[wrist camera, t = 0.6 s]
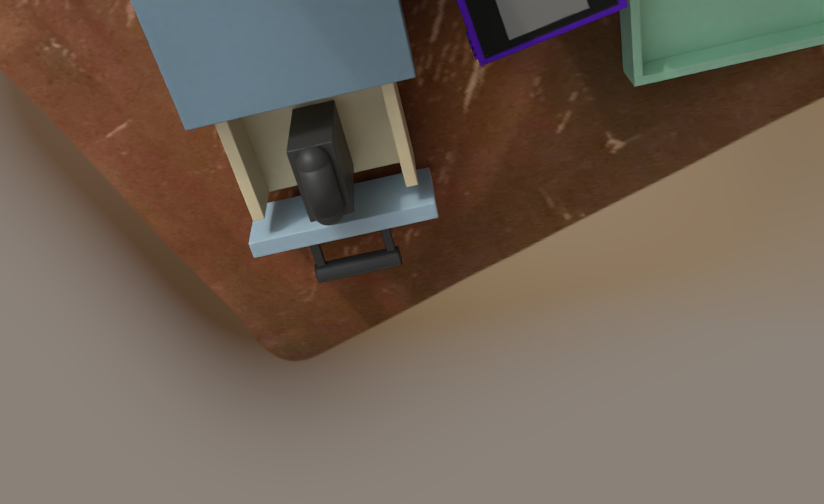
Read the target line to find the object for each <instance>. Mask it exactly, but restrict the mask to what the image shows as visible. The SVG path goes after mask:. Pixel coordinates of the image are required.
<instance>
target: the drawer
mask: <svg viewBox="0 0 824 504" xmlns="http://www.w3.org/2000/svg"><path fill="white" fill-rule="evenodd" d="M331 100H334V101H335V104H336V107H337V111H338V114H339V118H340V121H341V124H342V128H343V131H344V134H345V138H346V141H347V145H348V148H349V151H350V155H351V158H352V162H353V165H354V173H355V172H359V171H364V170H368V169H373V168H377V167H382V166H386V165H391V164H395V163H400V165H401V169H402V173H400V174H395V175H391V176H386V177H382V178H377V179H373V180H368V181H364V182H359V183H355V184H354V213H350V214H346V215H344V216H343V218H342V219H341V220H340V221H339V222H338V223H337V224H335V225H331V226H326V225H322V224H320V223H319V222H317V221H314V222H310V220H309V217H308V214H307V211H306V208H305V205H304V202H303V199H302V197H301V196H297V197H292V198H288V199H283V200H279V201H274V202H270V203H267V202H268V196H269V192H270V191H275V190H279V189H284V188H288V187H293V186H297V182H296V179H295V177H294V174H293V171H292V168H291V165H290V162H289V159H288V156H287V154H286V150H287V144H288V137H289V130H290V123H291V116H292V110H293V109H296V108H301V107H305V106H309V105H314V104H318V103H322V102H327V101H331ZM215 127H216V129H217V132H218V134H219V137H220V139H221V142H222V144H223V147H224V149H225V152H226V154H227V157H228V159H229V162H230V164H231V167H232V169H233V172H234V174H235V177H236V179H237V182H238V184H239V187H240V189H241V192H242V194H243V197H244V199H245V202H246V204H247V207H248V209H249V212H250V214H251V217H252V219H253V223H252V228H251V233H250V239H249V247H250V249H251V251H252V254H253V256H254V258H256V257H260V256H265V255H269V254H274V253H279V252H283V251H288V250H292V249H297V248H302V247H306V246H310V248H311V251H312V253H313V256H314V259H315V262H316V264H315V272H316V276H317V279H318V281H319V283H322V282H327V281H331V280H336V279H341V278H345V277H350V276H355V275H359V274H364V273H369V272H373V271H378V270H383V269H387V268H392V267H396V266H401V265H402V259H401V254H400V250H399V247H398V246H395V245H394V241H393V237H392V234H391V230H390V228H393V227H398V226H402V225H407V224H411V223H416V222H421V221H425V220H430V219H434V218H438V217H439V216H438V211H437V205H436V199H435V193H434V188H433V182H432V177H431V173H430V169H429V167H427V168H422V169H418V170H416V166H415V159H414V152H413V148H412V144H411V140H410V136H409V132H408V128H407V123H406V119H405V115H404V111H403V107H402V103H401V99H400V95H399V91H398V86H397V82H394V83H389V84H385V85H381V86H376V87H372V88H368V89H363V90H359V91H355V92H350V93H346V94H342V95H337V96H333V97H329V98H325V99H320V100H316V101H312V102H307V103H303V104H299V105H294V106H290V107H286V108H281V109H277V110H273V111H268V112H264V113H260V114H255V115H251V116H247V117H242V118H238V119H234V120H229V121H225V122H221V123H217V124H215ZM379 230H381V233H382V237H383V240H384V244H385V247H386V249H381V250H376V251H372V252H367V253H362V254H358V255H353V256H349V257H344V258H339V259H335V260H330V261H326V260H325V257H324V254H323V252H322V249H321V246H320V243H324V242H329V241H334V240H338V239H343V238H347V237H352V236H356V235H361V234H366V233H370V232H375V231H379Z"/></svg>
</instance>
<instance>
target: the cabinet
mask: <svg viewBox="0 0 824 504" xmlns="http://www.w3.org/2000/svg"><path fill="white" fill-rule="evenodd" d="M130 1H131V3H132V5H133V8H134V10H135V12H136V15H137V17H138V19H139V22H140V24H141V26H142V29H143V31H144V34H145V36H146V38H147V41H148V43H149V45H150V48H151V50H152V52H153V55H154V57H155V59H156V62H157V64H158V66H159V69H160V71H161V74H162V76H163V78H164V81H165V83H166V85H167V88H168V90H169V92H170V95H171V97H172V99H173V102H174V104H175V107H176V109H177V111H178V114H179V116H180V118H181V121H182V123H183V125H184V128H185V130H191V129H195V128H199V127H204V126H208V125H212V124H217V123H221V122H225V121H229V120H234V119H238V118H242V117H247V116H251V115H255V114H260V113H264V112H268V111H273V110H277V109H281V108H286V107H290V106H294V105H299V104H303V103H307V102H312V101H316V100H320V99H325V98H329V97H333V96H337V95H342V94H346V93H350V92H355V91H359V90H363V89H368V88H372V87H376V86H381V85H385V84H389V83H394V82H398V81H402V80H407V79H411V78H415V77H416V74H415V68H414V63H413V57H412V52H411V46H410V41H409V35H408V31H407V26H406V22H405V17H404V13H403V9H402V4H401V0H130Z"/></svg>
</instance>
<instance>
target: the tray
mask: <svg viewBox="0 0 824 504" xmlns="http://www.w3.org/2000/svg"><path fill="white" fill-rule="evenodd" d="M627 4H628V7H627V8H625V9H622V10H620V11H619V12H620V27H621V43H622V59H623V72H624V73H625V74H626V76H627V77H628V79H629V80H630V81H631V83H632V84H633V85H634V86H635V87H636V86H640V85H645V84H649V83H654V82H658V81H662V80H667V79H671V78H676V77H680V76H685V75H689V74H693V73H698V72H702V71H707V70H711V69H715V68H720V67H724V66H729V65H733V64H738V63H742V62H746V61H751V60H755V59H760V58H764V57H768V56H773V55H777V54H782V53H786V52H791V51H795V50H799V49H804V48H808V47H813V46H817V45H822V44H824V0H627Z"/></svg>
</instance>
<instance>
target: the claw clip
mask: <svg viewBox="0 0 824 504" xmlns="http://www.w3.org/2000/svg"><path fill="white" fill-rule="evenodd" d="M286 154H287V156H288V159H289V162H290V165H291V168H292V171H293V174H294V177H295V179H296V182H297V185H298V188H299V191H300V194H301V197H302V199H303V202H304V205H305V208H306V211H307V214H308V217H309V220H310V222H314V221H317V222H319V223H320V224H322V225H326V226H331V225H335V224H337V223H338V222H339V221H340V220H341V219H342V218H343V216H344V215H346V214H350V213H354V165H353V162H352V158H351V155H350V151H349V148H348V145H347V141H346V138H345V134H344V131H343V128H342V124H341V121H340V118H339V114H338V111H337V107H336V104H335V101H334V100H331V101H327V102H322V103H318V104H314V105H309V106H305V107H301V108H296V109H293V110H292V116H291V123H290V130H289V137H288V144H287V150H286Z"/></svg>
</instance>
